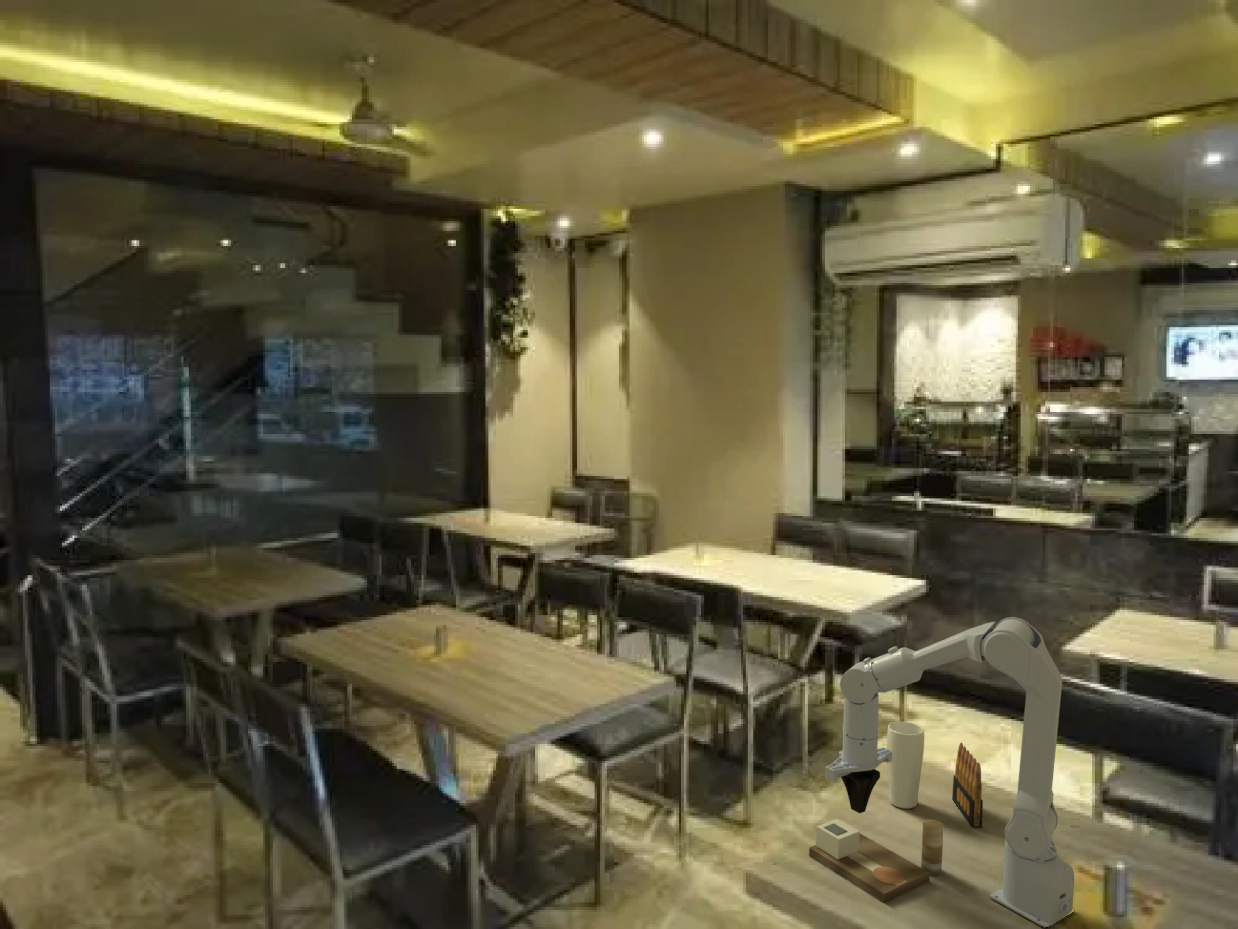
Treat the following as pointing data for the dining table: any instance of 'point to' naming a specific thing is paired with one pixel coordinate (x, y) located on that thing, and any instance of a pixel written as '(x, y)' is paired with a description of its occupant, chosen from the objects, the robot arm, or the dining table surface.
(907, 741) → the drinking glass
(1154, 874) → the dining table surface
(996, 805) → the dining table surface
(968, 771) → the ammunition clip
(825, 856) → the board
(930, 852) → the brown upright cylinder
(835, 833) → the block
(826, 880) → the dining table surface
